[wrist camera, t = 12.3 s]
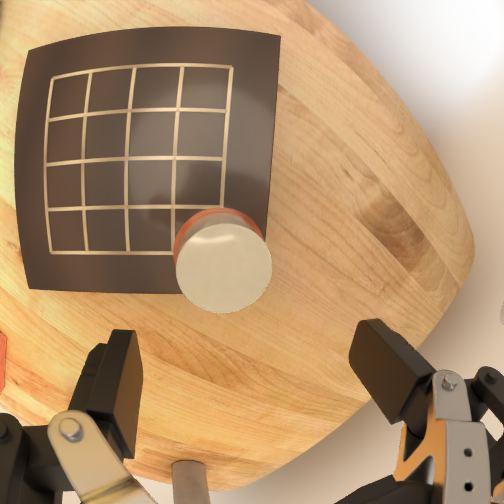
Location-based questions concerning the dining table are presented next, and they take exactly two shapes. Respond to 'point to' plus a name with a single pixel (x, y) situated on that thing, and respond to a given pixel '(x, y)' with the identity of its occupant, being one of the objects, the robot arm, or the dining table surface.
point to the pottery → (2, 360)
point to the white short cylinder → (222, 263)
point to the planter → (189, 483)
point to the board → (139, 151)
